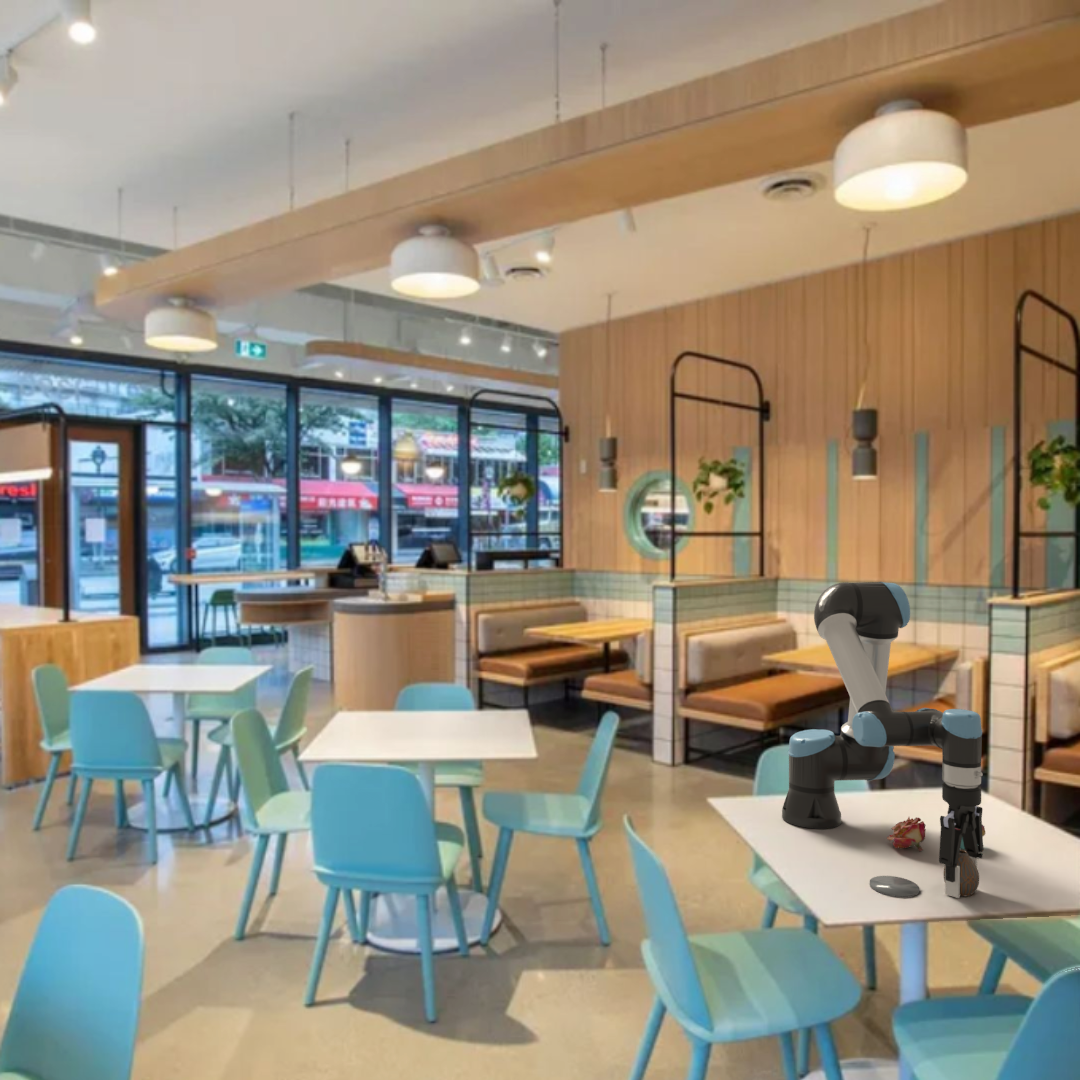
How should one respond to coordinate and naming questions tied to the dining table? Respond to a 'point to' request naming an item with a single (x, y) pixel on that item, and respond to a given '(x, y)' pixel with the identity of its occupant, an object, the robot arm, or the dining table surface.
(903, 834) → the flower
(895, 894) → the grey flat disc
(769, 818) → the dining table surface
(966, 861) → the vase
